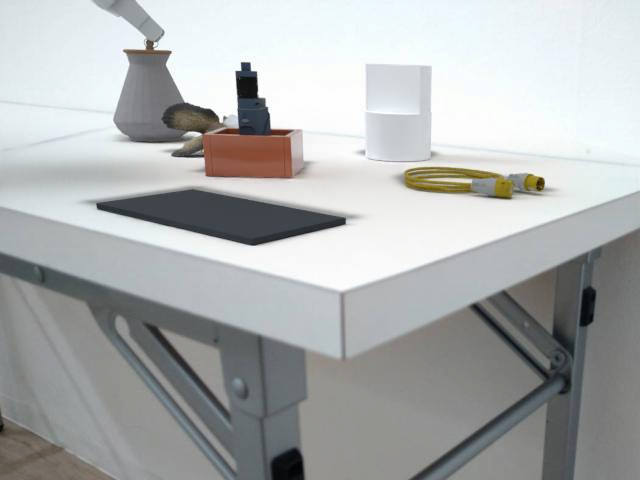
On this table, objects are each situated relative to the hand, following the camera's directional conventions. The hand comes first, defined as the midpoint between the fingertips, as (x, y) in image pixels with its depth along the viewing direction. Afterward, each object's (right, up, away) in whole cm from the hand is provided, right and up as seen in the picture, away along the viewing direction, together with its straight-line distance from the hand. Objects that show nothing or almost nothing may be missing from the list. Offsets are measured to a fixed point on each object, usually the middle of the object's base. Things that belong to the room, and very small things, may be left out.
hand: (160, 37), depth 80 cm
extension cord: (+33, -16, 0) cm, 37 cm away
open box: (+9, -13, +7) cm, 17 cm away
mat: (+12, -22, -17) cm, 30 cm away
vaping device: (+9, -13, +7) cm, 17 cm away
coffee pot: (-15, 0, +39) cm, 42 cm away
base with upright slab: (+24, -8, +22) cm, 34 cm away
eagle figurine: (-2, -8, +20) cm, 22 cm away
